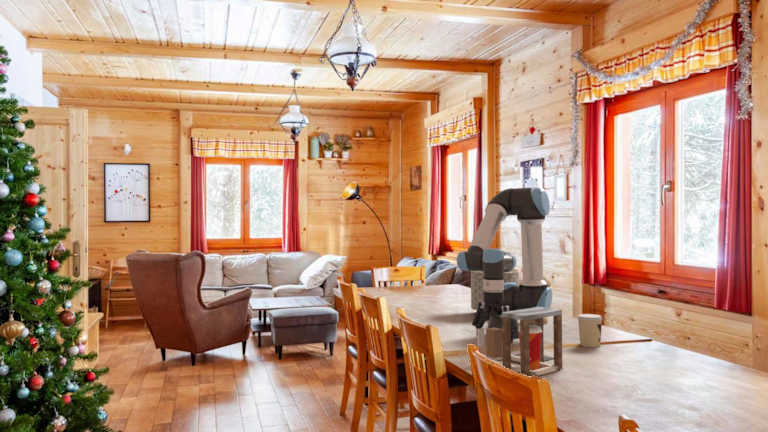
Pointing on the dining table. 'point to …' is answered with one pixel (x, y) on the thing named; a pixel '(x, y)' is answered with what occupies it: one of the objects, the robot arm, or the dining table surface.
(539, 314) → the small wooden stool
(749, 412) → the dining table surface
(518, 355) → the coaster
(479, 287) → the planter
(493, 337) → the frame
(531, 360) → the coffee cup
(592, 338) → the coffee cup
